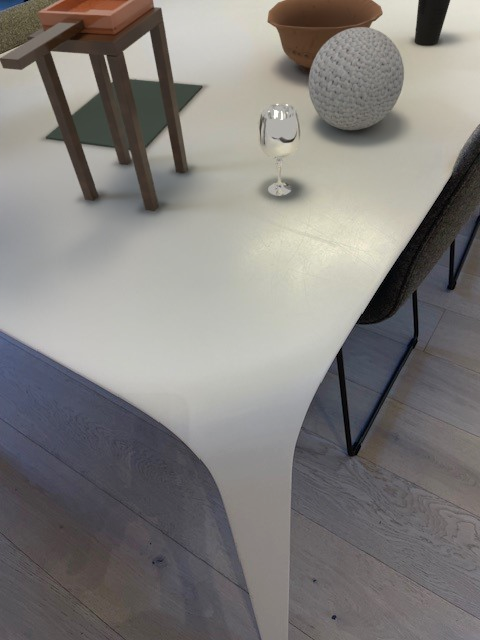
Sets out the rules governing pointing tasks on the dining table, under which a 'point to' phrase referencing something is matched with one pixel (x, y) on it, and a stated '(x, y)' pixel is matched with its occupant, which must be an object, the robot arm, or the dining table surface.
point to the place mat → (95, 123)
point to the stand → (114, 50)
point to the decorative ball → (356, 78)
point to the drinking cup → (430, 21)
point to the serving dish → (75, 25)
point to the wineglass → (279, 138)
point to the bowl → (317, 24)
